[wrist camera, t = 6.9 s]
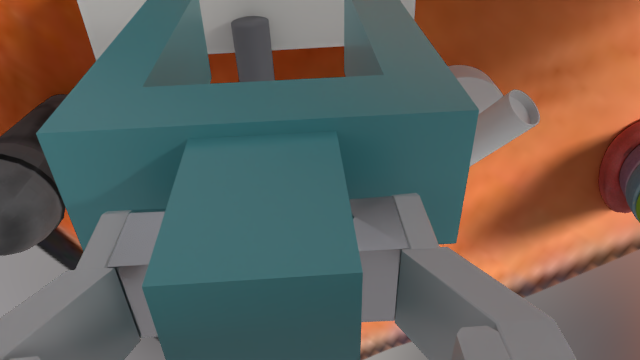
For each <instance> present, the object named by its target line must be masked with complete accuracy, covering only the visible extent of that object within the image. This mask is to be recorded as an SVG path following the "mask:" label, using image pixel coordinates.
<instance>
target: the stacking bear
mask: <svg viewBox="0 0 640 360" xmlns="http://www.w3.org/2000/svg"><path fill="white" fill-rule="evenodd" d="M599 189H600V193H601V196H602V198H603V200H604V202H605V203H606V205H607V206H608V207H609V208H610V209H611V210H613V211H615V212H622V213H628V212H631V211H632V213H633V214H634V216H635V217H636V219H637V220H638V221H639V222H640V121H638V122H636V123H635V124H633V125H631V126H630V127H628V128H627V129H625V130H624V131H623V132H622V133H621V134H619V135H618V136H617V137H616V138H615V140H614V141H613V142H612V143H611V144H610V146H609V147H608V149H607V151H606V153H605V155H604V158H603V160H602V163H601V167H600V172H599Z"/></svg>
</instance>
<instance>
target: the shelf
mask: <svg viewBox="0 0 640 360" xmlns="http://www.w3.org/2000/svg"><path fill="white" fill-rule="evenodd" d="M146 1H147V0H77V3H78V6H79V9H80V12H81V15H82V18H83V21H84V24H85V28H86V31H87V34H88V37H89V40H90V43H91V46H92V49H93V52H94V56H95V59H96V61H97V60H98V58H99V57H100V56H101V55H102V53H103V52H104V51H105V50H106V49H107V47H108V46H109V45H110V44H111V43H112V41H113V40H114V39H115V38H116V37H117V35H118V34H119V33H120V32H121V31H122V29H123V28H124V27H125V26H126V25H127V23H128V22H129V21H130V20H131V19H132V17H133V16H134V15H135V14H136V13H137V11H138V10H139V9H140V8H141V7H142V5H143V4H144V3H145V2H146ZM400 1H401V3H402V4H403V5H404V7H405V8H406V10H407V11H408V12H409V14H410V15H411V16H412V18H413V19H414V16H415V2H416V0H400ZM199 3H200V9H201V15H202V22H203V28H204V34H205V40H206V46H207V53H208V54H221V53H235V55H236V62H237V69H238V76H239V82H255V81H274V80H275V77H274V67H273V57H272V50H288V49H305V48H322V47H339V46H344V0H199Z"/></svg>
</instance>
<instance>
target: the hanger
mask: <svg viewBox="0 0 640 360" xmlns="http://www.w3.org/2000/svg"><path fill="white" fill-rule="evenodd" d="M344 73H345V76H346V77H334V78H314V79H294V80H274V81H255V82H235V83H215V84H210V82H211V78H212V77H211V71H210V65H209V59H208V53H207V46H206V40H205V34H204V28H203V22H202V15H201V9H200V3H199V0H147V1H146V2H145V3H144V4H143V5H142V7H141V8H140V9H139V10H138V11H137V13H136V14H135V15H134V16H133V17H132V19H131V20H130V21H129V22H128V23H127V25H126V26H125V27H124V28H123V29H122V31H121V32H120V33H119V34H118V35H117V37H116V38H115V39H114V40H113V41H112V43H111V44H110V45H109V46H108V47H107V49H106V50H105V51H104V52H103V53H102V55H101V56H100V57H99V58H98V60H97V61H96V62H95V63H94V64H93V66H92V67H91V68H90V69H89V70H88V72H87V73H86V74H85V75H84V76H83V78H82V79H81V80H80V81H79V82H78V84H77V85H76V86H75V87H74V88H73V90H72V91H71V92H70V93H69V94H68V96H67V97H66V98H65V99H64V100H63V102H62V103H61V104H60V105H59V106H58V108H57V109H56V110H55V111H54V112H53V114H52V115H51V116H50V117H49V118H48V120H47V121H46V122H45V123H44V124H43V126H42V127H41V128H40V129H39V130H38V132H37V133H36V135H37V138H38V140H39V143H40V145H41V148H42V150H43V152H44V155H45V157H46V160H47V162H48V165H49V167H50V170H51V172H52V175H53V177H54V180H55V182H56V185H57V187H58V190H59V192H60V194H61V197H62V199H63V202H64V204H65V207H66V209H67V212H68V214H69V217H70V219H71V222H72V224H73V227H74V229H75V232H76V234H77V236H78V239H79V241H80V244H81V246H82V249H83V251H84V250H85V248H86V246H87V244H88V242H89V240H90V238H91V236H92V234H93V232H94V229H95V227H96V225H97V223H98V221H99V219H100V217H101V215H102V214H104V213H105V212H107V211H122V210H142V209H166V211H165V214H164V217H163V220H162V223H161V227H160V230H159V233H158V236H157V239H156V243H155V246H154V249H153V252H152V255H151V259H150V262H149V265H148V268H147V271H146V275H145V278H144V281H143V284H142V290H143V293H144V296H145V299H146V302H147V305H148V308H149V311H150V314H151V317H152V320H153V323H154V326H155V329H156V332H157V335H158V338H159V341H160V344H161V347H162V350H163V352H164V356H165V359H166V360H360V345H361V314H362V282H363V271H362V266H361V260H360V255H359V249H358V244H357V239H356V233H355V228H354V223H353V217H352V212H351V206H350V201H349V199H351V198H367V197H382V196H392V195H398V194H409V193H417V194H418V195H420V198H421V200H422V203H423V206H424V208H425V211H426V213H427V216H428V218H429V221H430V223H431V226H432V229H433V231H434V234H435V236H436V239H437V241H438V244H451V243H456V241H457V235H458V229H459V224H460V218H461V212H462V206H463V201H464V195H465V189H466V183H467V178H468V172H469V166H470V160H471V155H472V149H473V143H474V137H475V132H476V126H477V120H478V114H479V109H478V108H477V106H476V105H475V103H474V102H473V101H472V99H471V98H470V96H469V95H468V94H467V92H466V91H465V90H464V88H463V87H462V85H461V84H460V83H459V81H458V80H457V79H456V77H455V76H454V74H453V73H452V72H451V70H450V69H449V67H448V66H447V65H446V63H445V62H444V61H443V59H442V58H441V56H440V55H439V54H438V52H437V51H436V50H435V48H434V47H433V45H432V44H431V43H430V41H429V40H428V39H427V37H426V36H425V34H424V33H423V32H422V30H421V29H420V27H419V26H418V25H417V23H416V22H415V21H414V19H413V18H412V16H411V15H410V14H409V12H408V11H407V10H406V8H405V7H404V5H403V4H402V3H401V1H400V0H344Z"/></svg>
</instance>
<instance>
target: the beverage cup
mask: <svg viewBox="0 0 640 360" xmlns="http://www.w3.org/2000/svg"><path fill="white" fill-rule="evenodd" d="M67 96H68V95H60V94H59V95H55V96H51V97H50V98H49V99H47V100H46V101H45V102H44V103H41V104H40V105H39V106H37V107H36V108H35V109H33V110H32V111H31V112H30V113H29V114H27V115H26V116H25V117H24V118H22V119H21V120H20V121H19V122H18V123H16V124H15V125H14V126H13V127H12V128H10V129H9V130H8V131H7V132H6V133H4V134H3V135H2V136H1V137H0V255H9V254H14V253H19V252H22V251H25V250H27V249H29V248H31V247H33V246H34V245H36V244H38V243H39V242H41V241H42V240H44V239H45V238H46V237H47V236H48V235H49V234H50V233H51V231H53V230H54V229H55V228H57V226H58V225H59V224H60V222H61V221H62V219H63V218H64V212H65V204H64V202H63V199H62V197H61V194H60V192H59V190H58V187H57V185H56V182H55V180H54V177H53V175H52V172H51V170H50V167H49V165H48V162H47V160H46V157H45V155H44V152H43V150H42V148H41V145H40V143H39V140H38V138H37V135H36V133H37V132H38V130H39V129H40V128H41V127H42V126H43V124H44V123H45V122H46V121H47V120H48V118H49V117H50V116H51V115H52V114H53V112H54V111H55V110H56V109H57V108H58V106H59V105H60V104H61V103H62V102H63V100H64V99H65V98H66V97H67Z"/></svg>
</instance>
